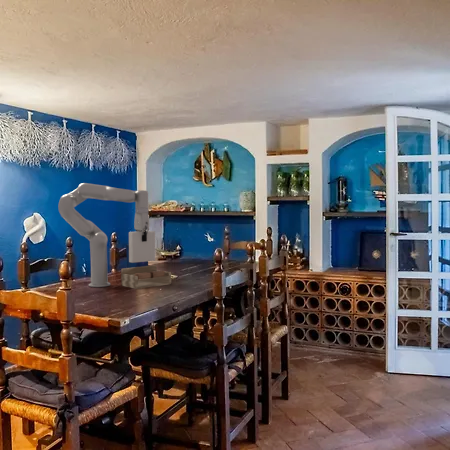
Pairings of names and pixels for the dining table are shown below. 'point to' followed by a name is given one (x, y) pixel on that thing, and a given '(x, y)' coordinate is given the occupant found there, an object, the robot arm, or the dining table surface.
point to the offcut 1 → (143, 275)
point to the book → (135, 264)
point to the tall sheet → (141, 247)
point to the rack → (133, 282)
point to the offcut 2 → (157, 274)
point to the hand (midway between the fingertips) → (142, 240)
